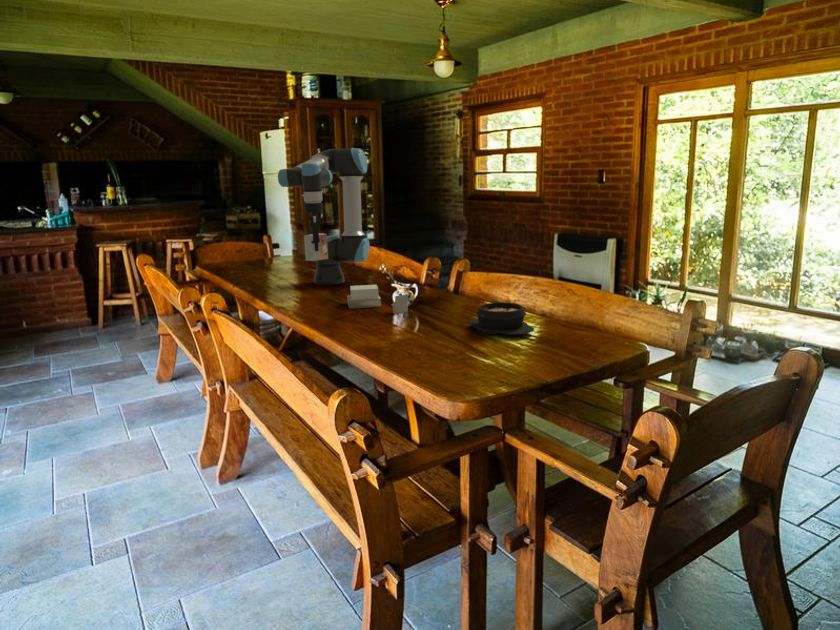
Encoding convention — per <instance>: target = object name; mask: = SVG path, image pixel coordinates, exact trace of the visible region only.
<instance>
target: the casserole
mask: <svg viewBox="0 0 840 630" xmlns="http://www.w3.org/2000/svg"><path fill="white" fill-rule="evenodd" d="M475 314H476V316H477V317H476V318H473V319H471V320H469V322H468V323H469V324H470V325H471V326H473V328H475V329H476V330H478V331H480V332H484V333H486V334H491V335H496V336H497V335H499V336H500V335H501V336H505V335H509V336H517V335H519V336H520V335H525V334H528V333H529V334H530V333H531V332H533V331H535V328H534V327H533V326H531V325H529V324H528V323H527V322H525V321H524V318H525V316H526V315H527V312H526V311H525V310H524V307H523V306H522V305H520V304H518V303H512V302H489V303H483V304H481V305H479V306H478V308H477V311H475Z"/></svg>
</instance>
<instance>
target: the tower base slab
mask: <svg viewBox="0 0 840 630" xmlns="http://www.w3.org/2000/svg"><path fill="white" fill-rule="evenodd" d="M378 296H379V298H373V299H355V300H352V299H351V294H350V295H347V296H346V297H347V305H348V309H350V310H351V309H362V308H363V309H364V308H380V307H382V298H381V296H380V295H379V294H378Z"/></svg>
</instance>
